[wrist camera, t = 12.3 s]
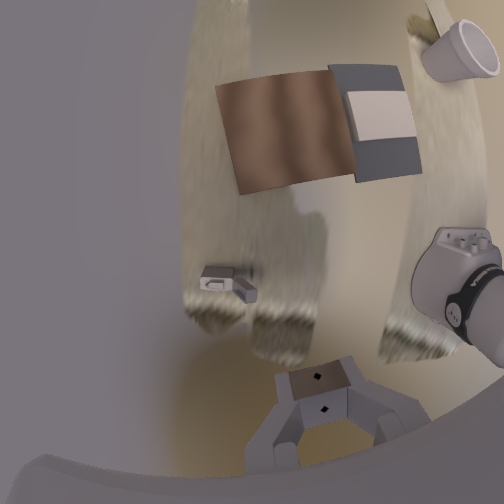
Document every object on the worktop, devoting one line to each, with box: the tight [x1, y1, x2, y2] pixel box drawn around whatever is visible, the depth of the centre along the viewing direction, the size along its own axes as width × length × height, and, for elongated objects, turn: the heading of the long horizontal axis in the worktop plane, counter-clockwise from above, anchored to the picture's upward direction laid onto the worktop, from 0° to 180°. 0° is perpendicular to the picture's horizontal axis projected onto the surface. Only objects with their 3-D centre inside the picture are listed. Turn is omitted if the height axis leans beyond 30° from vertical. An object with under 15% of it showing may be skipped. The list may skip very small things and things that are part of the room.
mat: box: [328, 64, 422, 183], centre depth 33 cm, size 12×18×1 cm
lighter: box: [200, 267, 257, 304], centre depth 35 cm, size 7×2×8 cm, turn 87°
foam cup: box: [421, 19, 500, 82], centre depth 24 cm, size 10×9×13 cm
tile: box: [341, 91, 417, 143], centre depth 32 cm, size 10×7×2 cm
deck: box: [215, 70, 357, 195], centre depth 33 cm, size 16×15×2 cm
